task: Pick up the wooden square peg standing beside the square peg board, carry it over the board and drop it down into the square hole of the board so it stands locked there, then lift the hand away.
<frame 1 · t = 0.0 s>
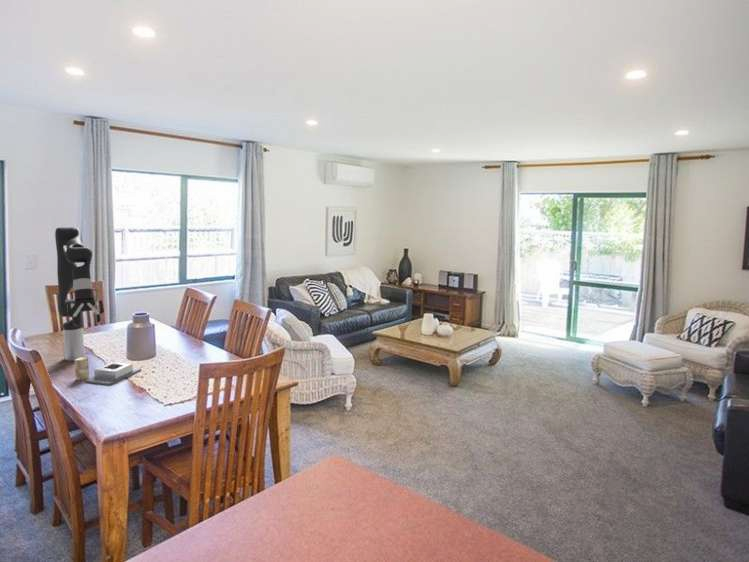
hand: (87, 324, 225), 31 cm above the table, fingers open, 8 cm apart
wooden square peg: (82, 378, 244), on the table
square peg board: (114, 376, 248), on the table
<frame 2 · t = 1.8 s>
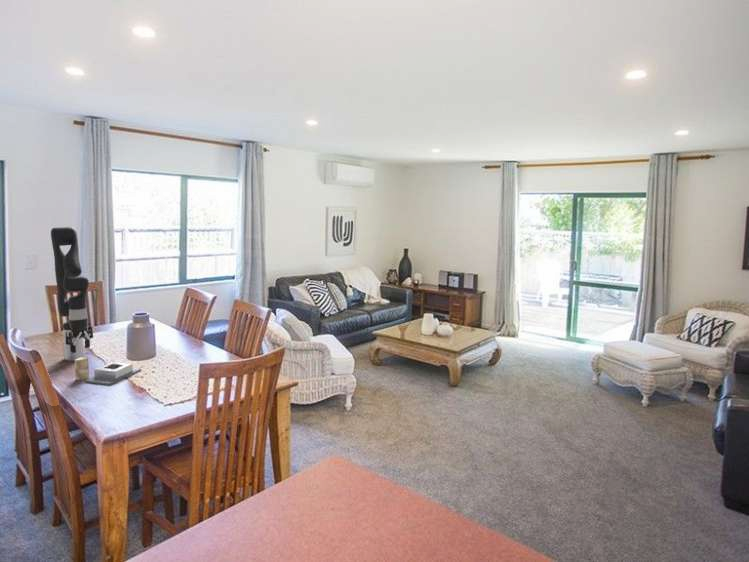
hand: (80, 350, 241), 14 cm above the table, fingers open, 8 cm apart
nothing on the table moved.
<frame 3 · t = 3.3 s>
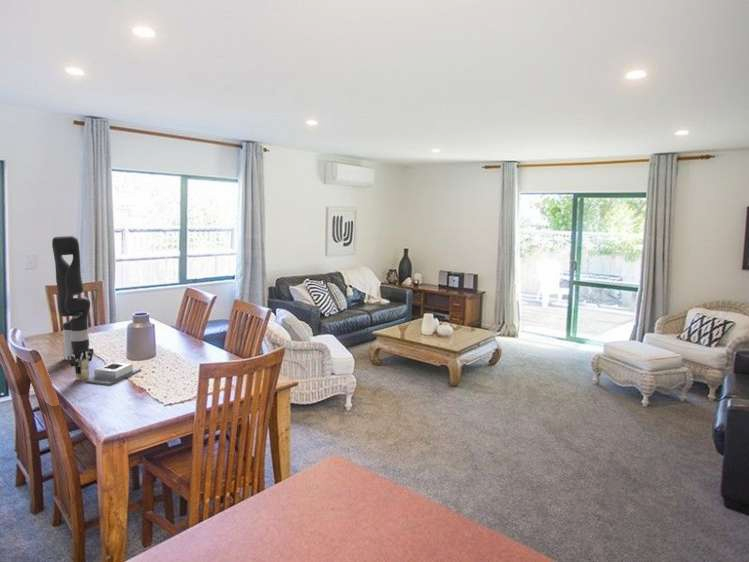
hand: (82, 372, 243), 3 cm above the table, fingers closed on wooden square peg, 4 cm apart
wooden square peg: (82, 378, 244), on the table, touching gripper
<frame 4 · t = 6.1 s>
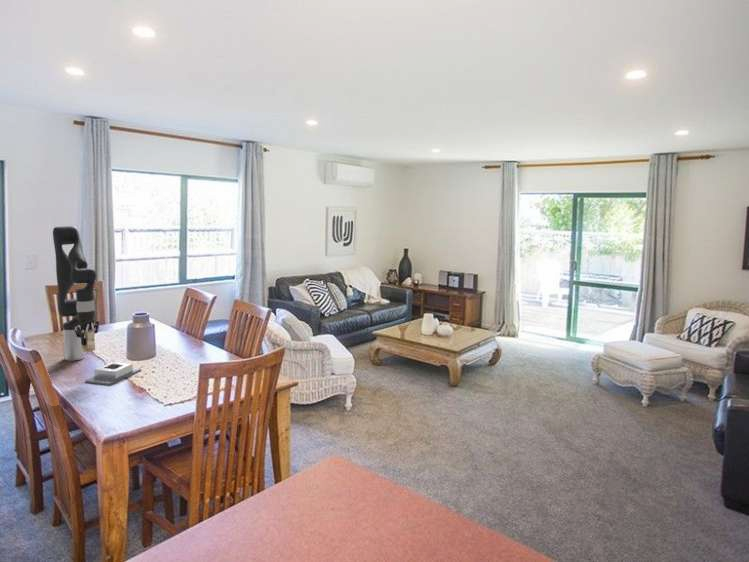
hand: (88, 343, 242), 17 cm above the table, fingers closed on wooden square peg, 4 cm apart
wooden square peg: (88, 350, 242), point 14 cm above the table, touching gripper
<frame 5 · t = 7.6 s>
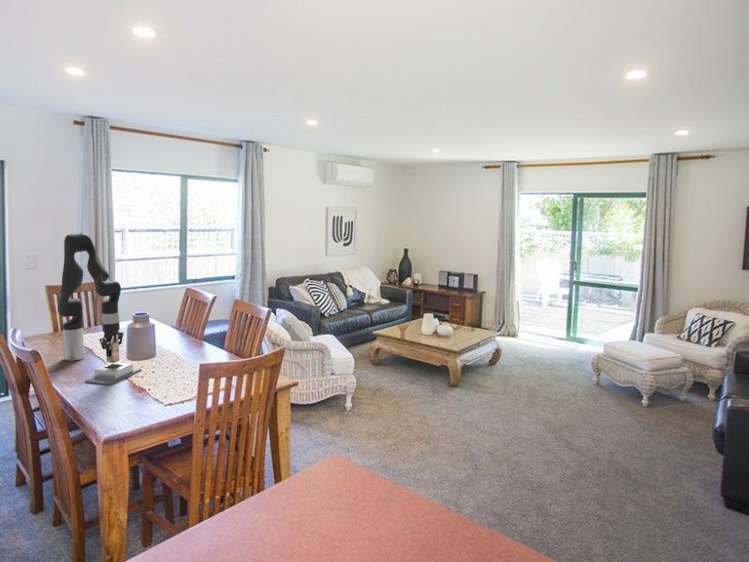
hand: (112, 355, 246), 11 cm above the table, fingers closed on wooden square peg, 4 cm apart
wooden square peg: (113, 361, 247), point 8 cm above the table, touching gripper
when the fingers open (6 cm above the table, at t = 9.0 s): wooden square peg drops 2 cm, resting on square peg board.
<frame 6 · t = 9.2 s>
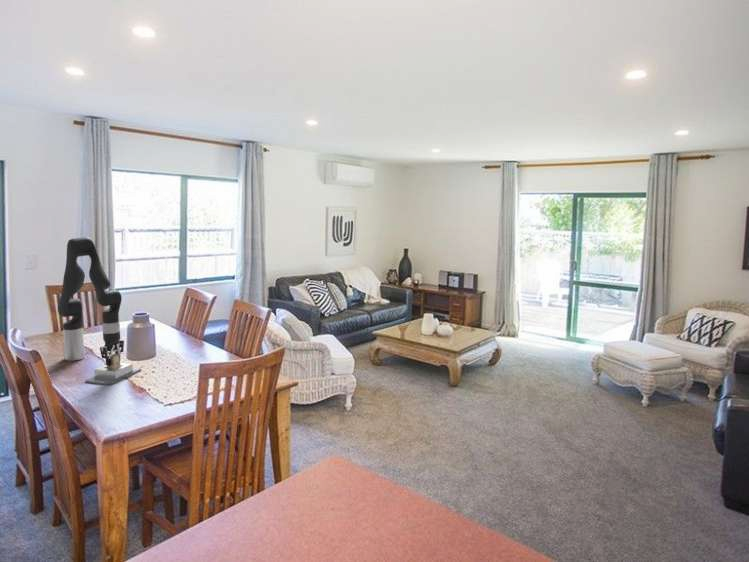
hand: (113, 363, 247), 6 cm above the table, fingers open, 5 cm apart
wooden square peg: (114, 374, 248), point 1 cm above the table, touching square peg board
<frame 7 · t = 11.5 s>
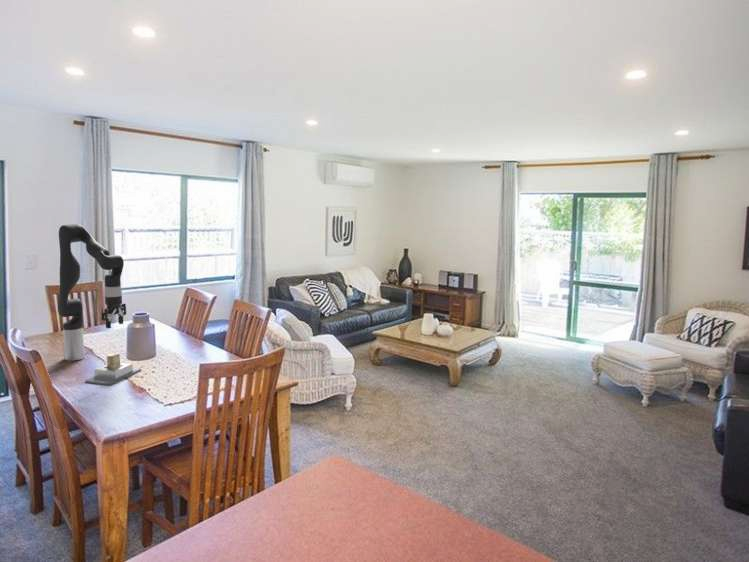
hand: (114, 326, 252), 24 cm above the table, fingers open, 8 cm apart
nothing on the table moved.
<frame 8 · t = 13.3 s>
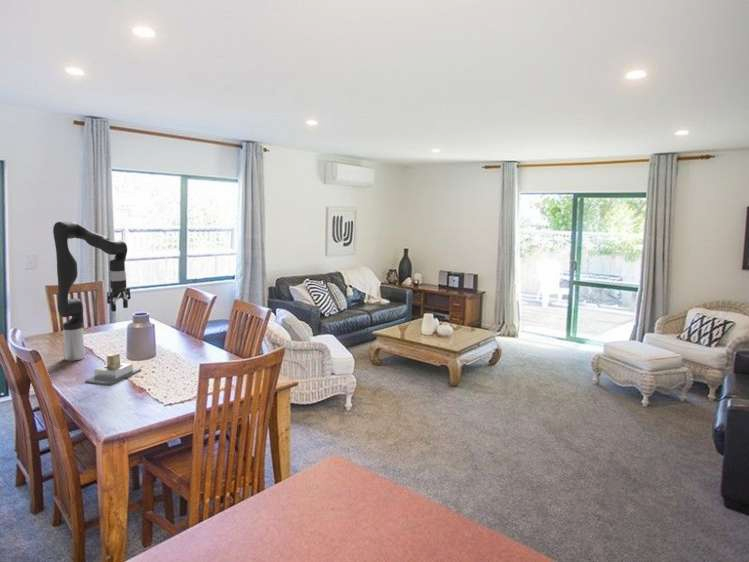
hand: (119, 309, 260), 30 cm above the table, fingers open, 8 cm apart
nothing on the table moved.
at the end: wooden square peg 0.2 cm off-centre on the square peg board, point 1.0 cm above the square peg board's base; wooden square peg tilted 0°; the gripper is holding nothing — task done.
